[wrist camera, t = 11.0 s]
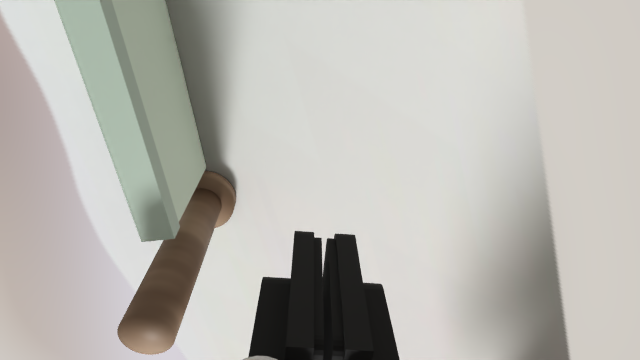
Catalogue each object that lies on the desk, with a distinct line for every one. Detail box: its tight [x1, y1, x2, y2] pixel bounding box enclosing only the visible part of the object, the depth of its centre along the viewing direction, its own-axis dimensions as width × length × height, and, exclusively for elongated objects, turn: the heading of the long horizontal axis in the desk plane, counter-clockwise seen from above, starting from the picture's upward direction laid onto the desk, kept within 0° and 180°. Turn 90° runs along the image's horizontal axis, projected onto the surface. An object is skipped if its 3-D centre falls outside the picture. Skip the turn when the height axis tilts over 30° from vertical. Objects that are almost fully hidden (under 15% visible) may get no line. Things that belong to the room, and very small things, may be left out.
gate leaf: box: [54, 0, 206, 242], centre depth 20 cm, size 14×2×8 cm, turn 5°
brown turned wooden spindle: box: [118, 171, 236, 354], centre depth 23 cm, size 4×4×12 cm
